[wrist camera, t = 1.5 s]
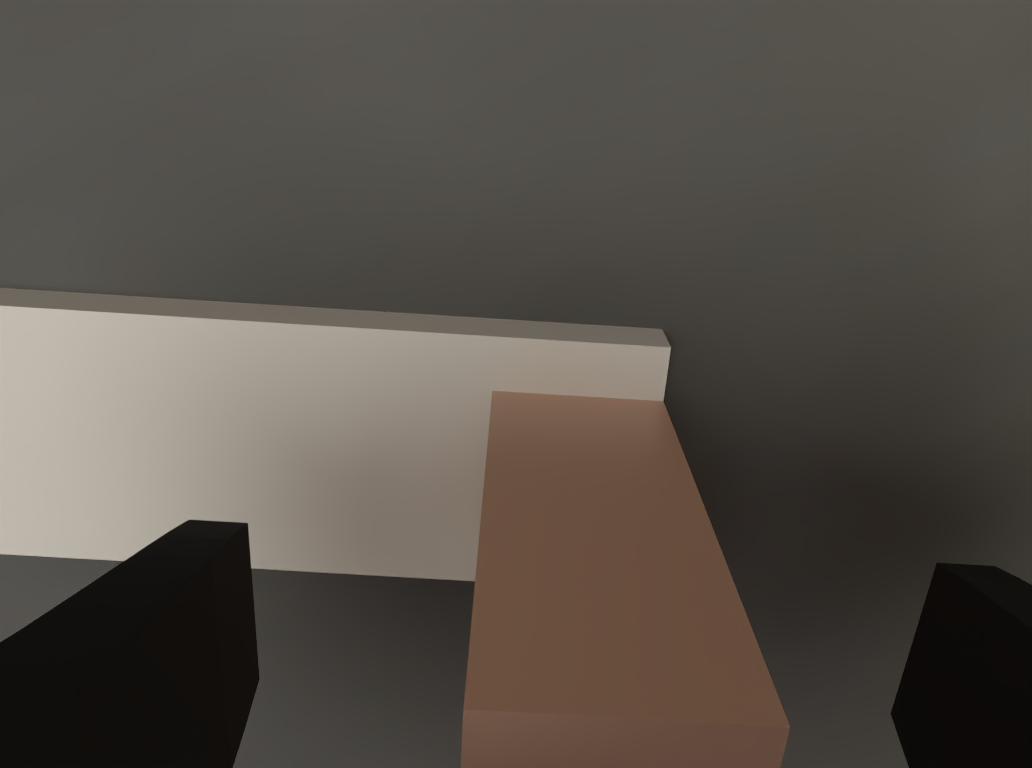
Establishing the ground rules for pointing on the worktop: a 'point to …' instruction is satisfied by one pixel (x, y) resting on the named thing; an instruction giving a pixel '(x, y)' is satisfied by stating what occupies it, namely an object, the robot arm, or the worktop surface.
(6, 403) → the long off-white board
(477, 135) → the worktop surface
